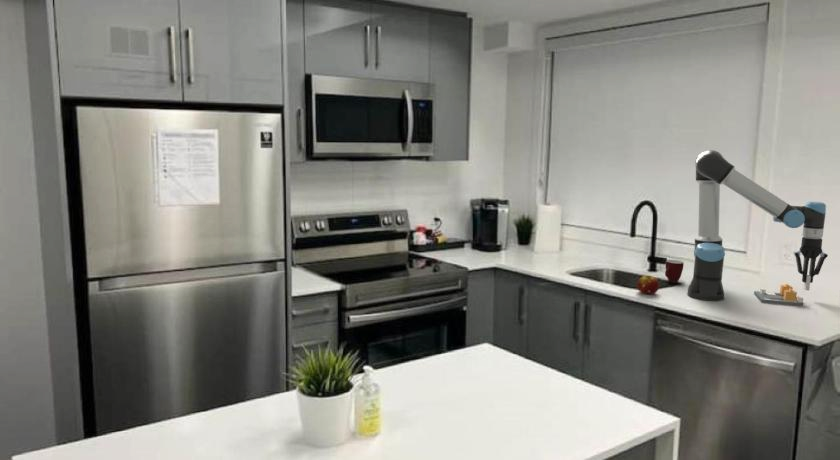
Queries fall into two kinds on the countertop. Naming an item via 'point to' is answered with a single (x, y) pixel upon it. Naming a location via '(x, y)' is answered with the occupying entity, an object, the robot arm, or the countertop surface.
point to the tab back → (785, 288)
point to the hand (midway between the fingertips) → (806, 289)
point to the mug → (673, 270)
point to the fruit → (648, 284)
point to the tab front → (789, 295)
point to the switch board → (776, 298)
